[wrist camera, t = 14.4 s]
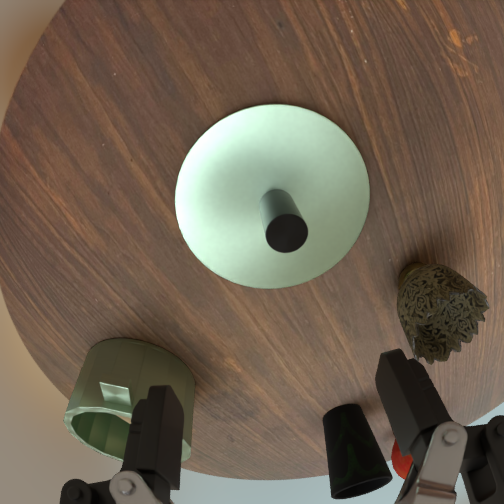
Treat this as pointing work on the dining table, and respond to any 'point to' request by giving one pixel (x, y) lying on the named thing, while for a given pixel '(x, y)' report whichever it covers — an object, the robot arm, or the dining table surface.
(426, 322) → the cup
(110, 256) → the dining table surface
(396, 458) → the apple
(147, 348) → the pot
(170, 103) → the dining table surface
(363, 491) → the cup
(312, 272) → the pot lid
